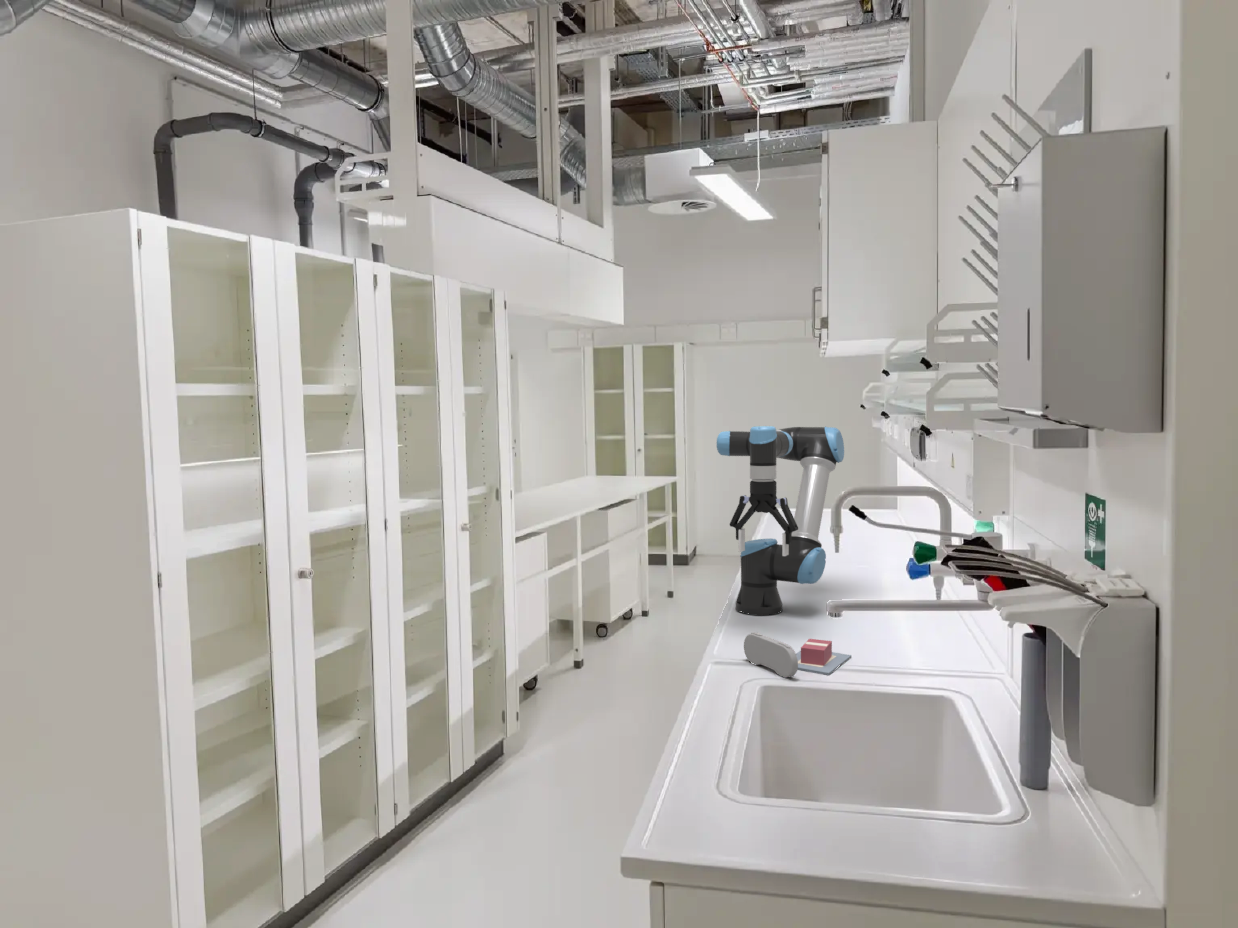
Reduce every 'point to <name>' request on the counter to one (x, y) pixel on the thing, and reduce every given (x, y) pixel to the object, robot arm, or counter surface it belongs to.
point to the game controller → (771, 654)
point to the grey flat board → (827, 668)
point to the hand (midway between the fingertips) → (763, 553)
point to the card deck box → (816, 652)
